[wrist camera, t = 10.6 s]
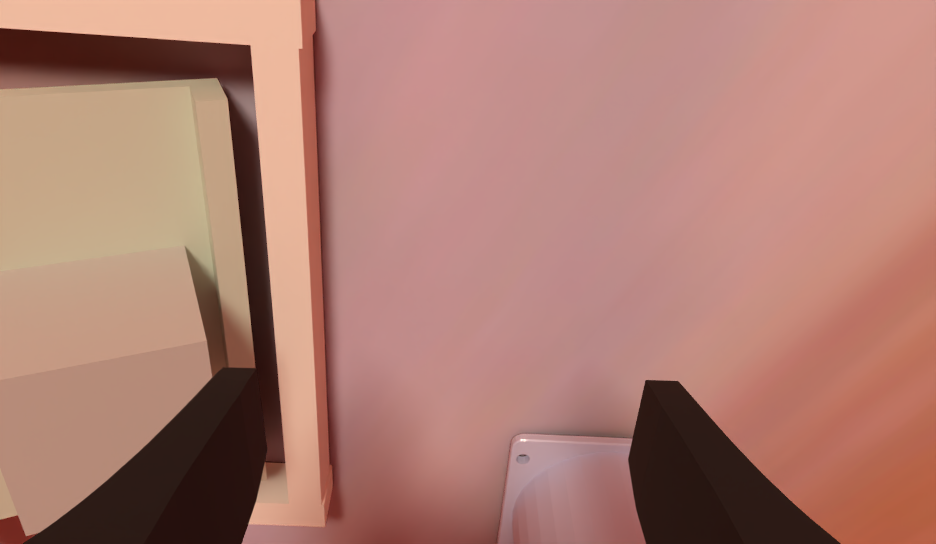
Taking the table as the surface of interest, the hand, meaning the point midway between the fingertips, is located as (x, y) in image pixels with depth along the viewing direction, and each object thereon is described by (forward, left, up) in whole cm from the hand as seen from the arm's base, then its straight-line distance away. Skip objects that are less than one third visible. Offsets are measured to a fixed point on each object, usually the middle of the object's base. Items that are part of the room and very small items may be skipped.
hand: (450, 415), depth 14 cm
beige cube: (-4, +10, -8) cm, 14 cm away
